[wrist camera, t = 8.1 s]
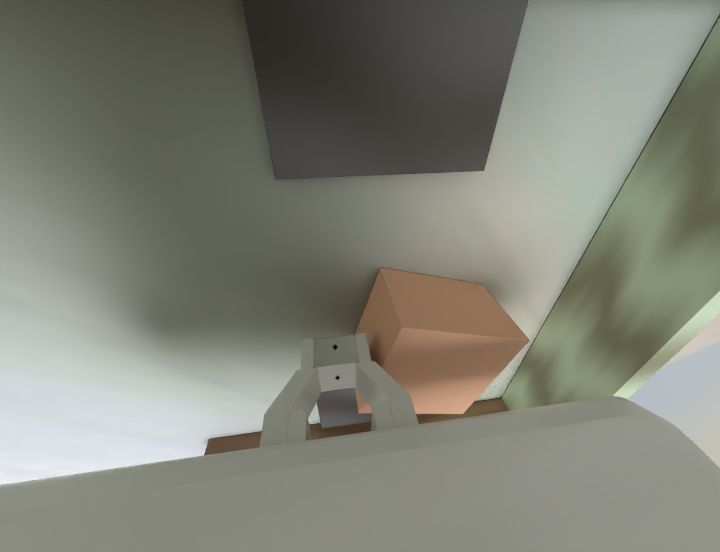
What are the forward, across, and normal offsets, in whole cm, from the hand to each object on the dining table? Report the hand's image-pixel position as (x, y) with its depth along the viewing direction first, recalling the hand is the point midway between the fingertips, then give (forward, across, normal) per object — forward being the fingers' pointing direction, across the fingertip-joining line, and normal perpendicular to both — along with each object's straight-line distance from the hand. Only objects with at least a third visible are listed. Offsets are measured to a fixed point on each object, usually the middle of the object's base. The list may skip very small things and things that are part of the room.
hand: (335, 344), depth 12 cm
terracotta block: (+2, -5, +1) cm, 5 cm away
